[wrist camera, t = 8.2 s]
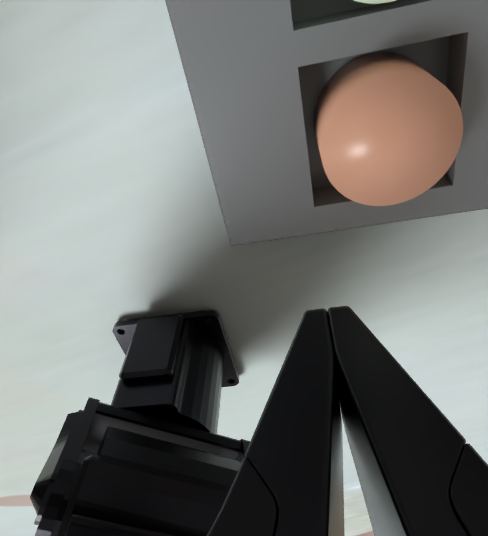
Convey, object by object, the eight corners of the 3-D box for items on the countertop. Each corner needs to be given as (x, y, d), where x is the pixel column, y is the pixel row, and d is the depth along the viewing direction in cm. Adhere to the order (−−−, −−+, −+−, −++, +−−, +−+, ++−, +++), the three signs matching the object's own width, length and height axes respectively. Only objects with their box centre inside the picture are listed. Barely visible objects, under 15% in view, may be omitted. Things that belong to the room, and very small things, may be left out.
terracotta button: (430, 161, 18) (456, 195, 15) (319, 179, 18) (327, 214, 16) (438, 39, 15) (470, 57, 13) (307, 66, 16) (314, 88, 13)
